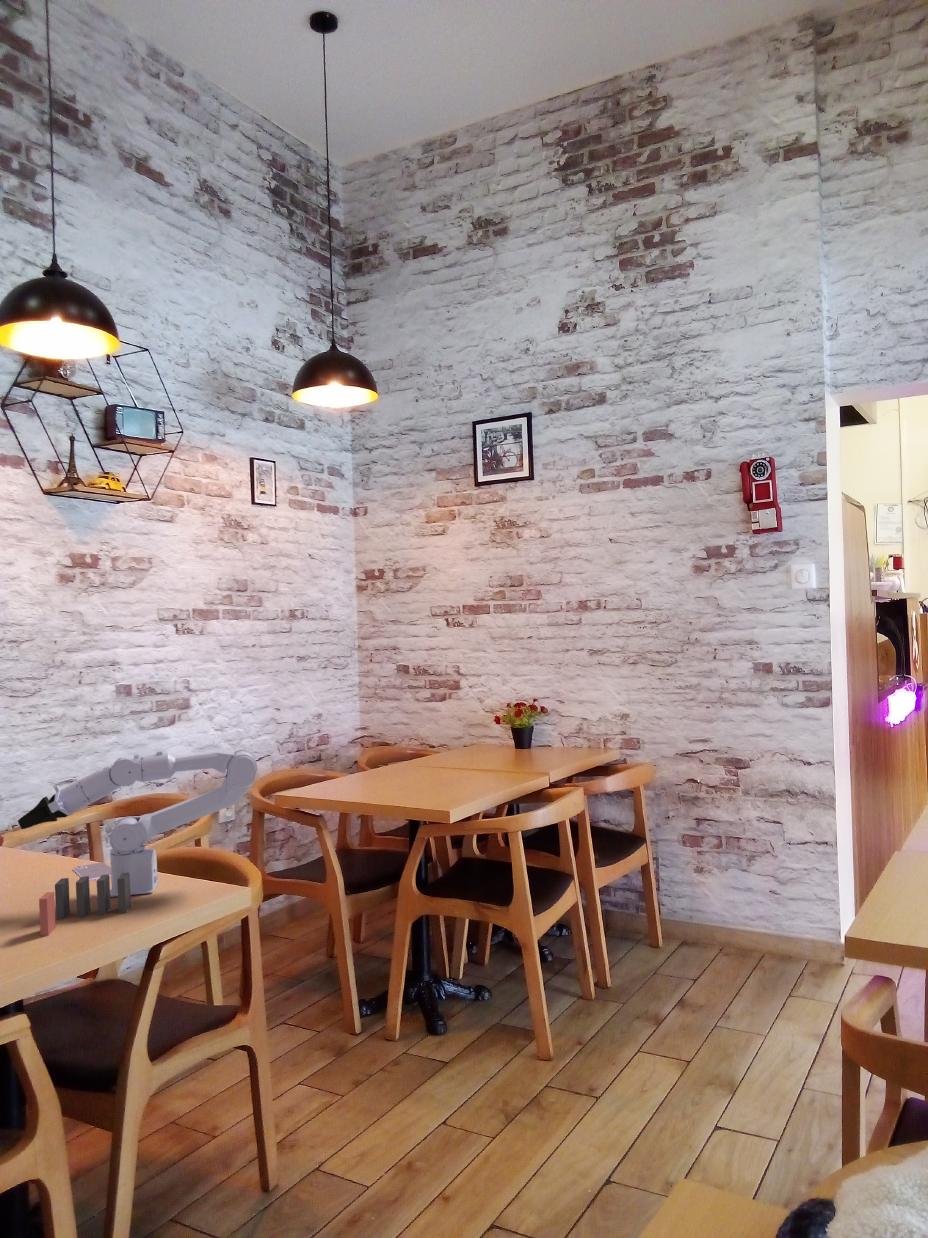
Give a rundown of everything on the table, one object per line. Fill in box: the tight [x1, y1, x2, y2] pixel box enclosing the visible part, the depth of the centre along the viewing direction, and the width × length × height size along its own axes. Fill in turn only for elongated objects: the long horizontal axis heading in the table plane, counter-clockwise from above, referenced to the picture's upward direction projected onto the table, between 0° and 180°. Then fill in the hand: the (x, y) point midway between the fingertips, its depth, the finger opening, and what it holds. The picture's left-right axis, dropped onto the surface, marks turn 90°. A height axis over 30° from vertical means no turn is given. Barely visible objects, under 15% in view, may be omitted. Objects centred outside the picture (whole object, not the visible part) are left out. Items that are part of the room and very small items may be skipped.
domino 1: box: [54, 877, 71, 921], centre depth 180 cm, size 1×4×7 cm, turn 9°
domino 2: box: [75, 876, 91, 918], centre depth 180 cm, size 1×4×7 cm, turn 9°
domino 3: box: [96, 874, 111, 916], centre depth 181 cm, size 1×4×7 cm, turn 9°
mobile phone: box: [72, 861, 111, 882], centre depth 213 cm, size 8×1×15 cm
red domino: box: [38, 891, 56, 937], centre depth 170 cm, size 1×4×7 cm, turn 9°
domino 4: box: [117, 873, 132, 914], centre depth 182 cm, size 1×4×7 cm, turn 9°
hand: (24, 823), depth 190 cm, fingers open, 7 cm apart
